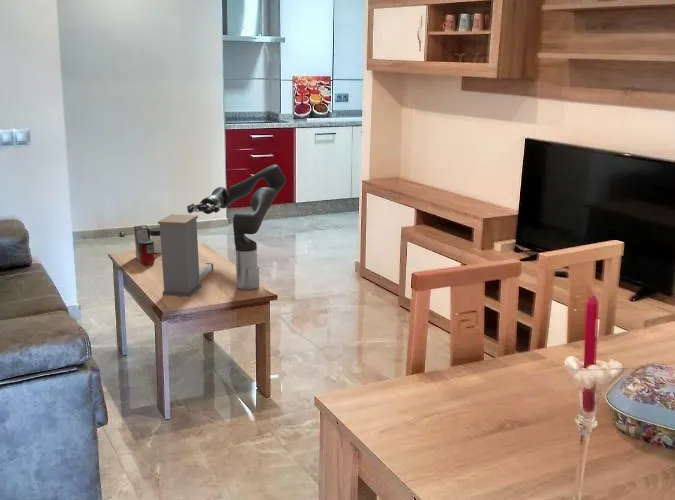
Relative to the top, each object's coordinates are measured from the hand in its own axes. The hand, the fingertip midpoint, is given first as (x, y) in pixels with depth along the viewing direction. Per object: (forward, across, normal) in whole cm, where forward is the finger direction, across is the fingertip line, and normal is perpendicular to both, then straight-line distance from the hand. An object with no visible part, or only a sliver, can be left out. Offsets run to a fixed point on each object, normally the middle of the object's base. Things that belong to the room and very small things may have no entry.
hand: (198, 211), depth 326 cm
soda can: (-12, +32, -30) cm, 45 cm away
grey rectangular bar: (0, 0, -30) cm, 30 cm away
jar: (-34, +36, -30) cm, 58 cm away
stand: (+23, 0, -30) cm, 38 cm away
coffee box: (-21, +38, -30) cm, 53 cm away
